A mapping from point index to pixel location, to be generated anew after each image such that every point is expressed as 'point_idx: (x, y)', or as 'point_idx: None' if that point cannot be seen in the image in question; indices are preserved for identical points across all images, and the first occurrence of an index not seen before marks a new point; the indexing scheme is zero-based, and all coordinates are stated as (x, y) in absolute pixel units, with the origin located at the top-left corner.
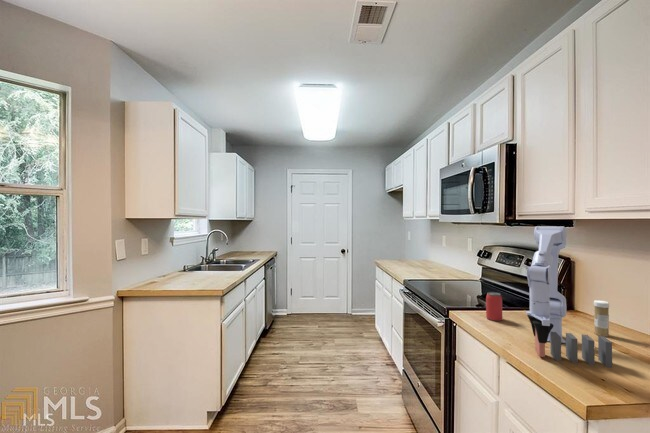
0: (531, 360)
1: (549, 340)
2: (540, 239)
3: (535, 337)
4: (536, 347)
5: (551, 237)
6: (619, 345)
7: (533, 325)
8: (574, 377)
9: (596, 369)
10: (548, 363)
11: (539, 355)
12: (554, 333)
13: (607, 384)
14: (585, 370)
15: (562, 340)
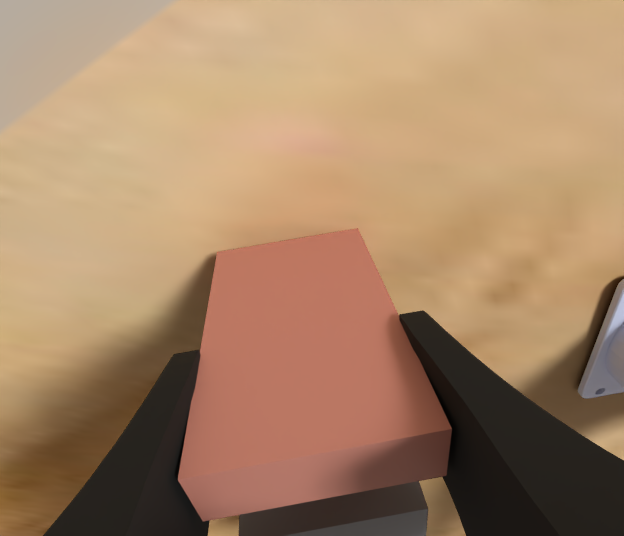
0: (123, 176)
1: (609, 325)
2: None
3: (379, 317)
4: (319, 259)
5: None
6: None
7: (484, 453)
8: (17, 402)
9: None
10: (153, 293)
11: (216, 257)
12: (363, 534)
13: (60, 491)
14: None
15: (608, 385)
